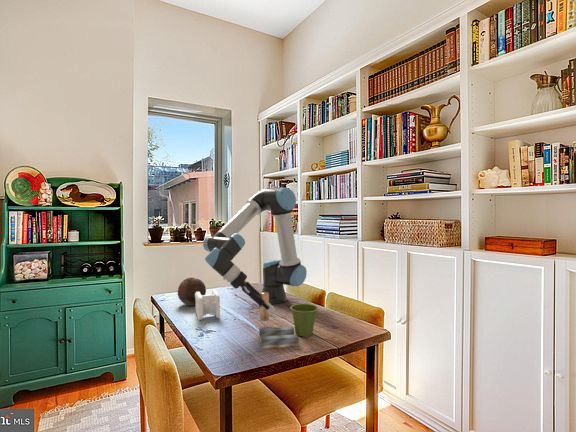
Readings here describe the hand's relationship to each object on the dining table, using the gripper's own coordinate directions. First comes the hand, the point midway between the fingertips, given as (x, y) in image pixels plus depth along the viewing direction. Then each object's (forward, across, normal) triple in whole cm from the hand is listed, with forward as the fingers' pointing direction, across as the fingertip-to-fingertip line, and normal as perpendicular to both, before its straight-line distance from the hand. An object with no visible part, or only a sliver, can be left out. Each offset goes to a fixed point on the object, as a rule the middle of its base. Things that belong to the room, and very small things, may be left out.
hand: (272, 311), depth 157 cm
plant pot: (+13, +13, +4) cm, 19 cm away
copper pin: (0, 0, -5) cm, 5 cm away
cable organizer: (-17, -18, -26) cm, 36 cm away
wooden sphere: (-24, -41, -33) cm, 58 cm away
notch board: (+4, +19, -4) cm, 20 cm away
